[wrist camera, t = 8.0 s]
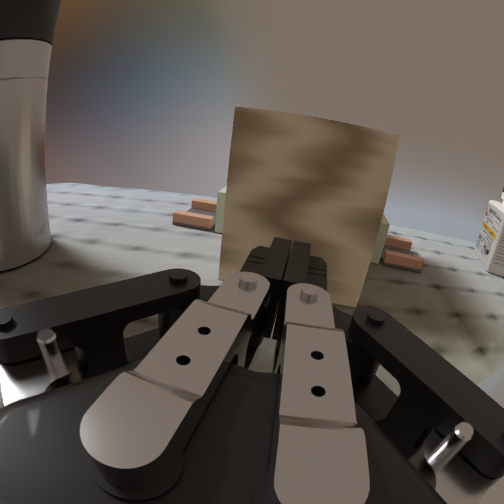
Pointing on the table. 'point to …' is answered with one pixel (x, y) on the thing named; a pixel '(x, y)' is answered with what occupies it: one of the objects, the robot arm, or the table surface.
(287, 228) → the ash block
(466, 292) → the table surface
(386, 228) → the grey-green piece
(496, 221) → the container
